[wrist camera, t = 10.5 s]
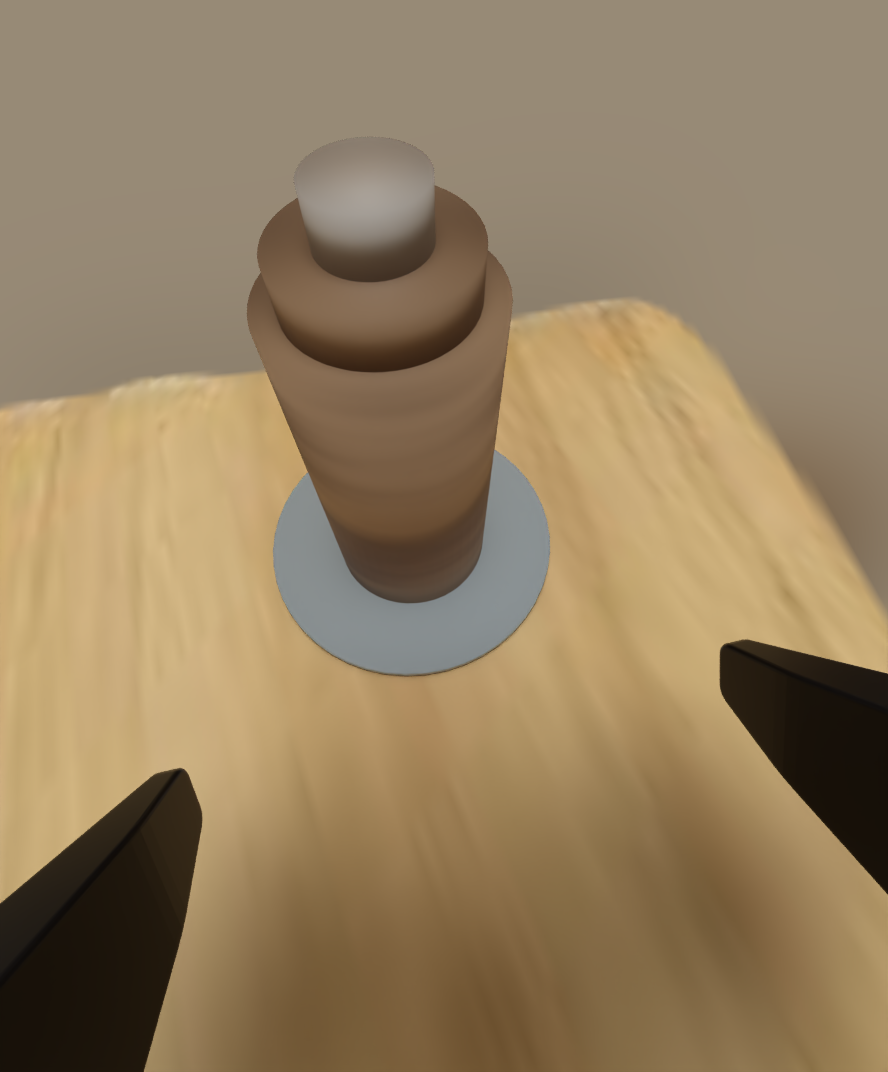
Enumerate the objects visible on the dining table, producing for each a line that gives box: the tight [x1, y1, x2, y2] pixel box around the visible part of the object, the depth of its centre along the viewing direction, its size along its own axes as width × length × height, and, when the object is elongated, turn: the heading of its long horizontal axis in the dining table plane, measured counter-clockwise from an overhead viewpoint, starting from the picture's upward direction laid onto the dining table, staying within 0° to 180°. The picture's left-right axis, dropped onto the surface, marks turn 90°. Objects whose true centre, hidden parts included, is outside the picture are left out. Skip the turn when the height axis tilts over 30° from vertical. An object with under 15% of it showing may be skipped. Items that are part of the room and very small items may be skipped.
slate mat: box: [273, 450, 550, 676], centre depth 21 cm, size 11×11×1 cm
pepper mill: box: [247, 137, 513, 603], centre depth 15 cm, size 6×6×13 cm
